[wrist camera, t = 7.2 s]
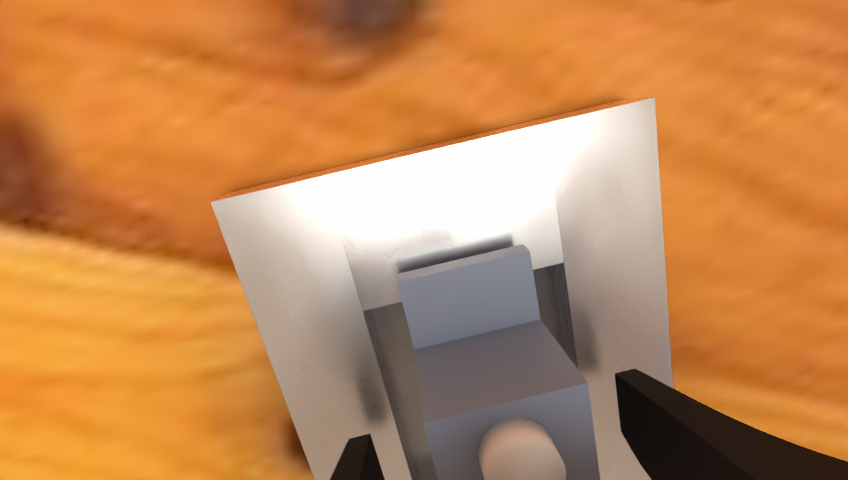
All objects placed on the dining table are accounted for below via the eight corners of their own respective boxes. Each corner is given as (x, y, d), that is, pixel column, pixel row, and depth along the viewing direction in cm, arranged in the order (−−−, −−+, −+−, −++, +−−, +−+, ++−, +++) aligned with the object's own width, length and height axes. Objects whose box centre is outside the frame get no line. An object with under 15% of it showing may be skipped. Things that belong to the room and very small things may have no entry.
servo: (546, 473, 17) (638, 679, 11) (457, 495, 17) (497, 715, 11) (503, 225, 14) (595, 314, 8) (395, 251, 14) (402, 361, 8)
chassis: (657, 503, 18) (682, 540, 16) (368, 575, 18) (367, 619, 16) (623, 99, 13) (654, 97, 12) (231, 191, 13) (210, 202, 11)
